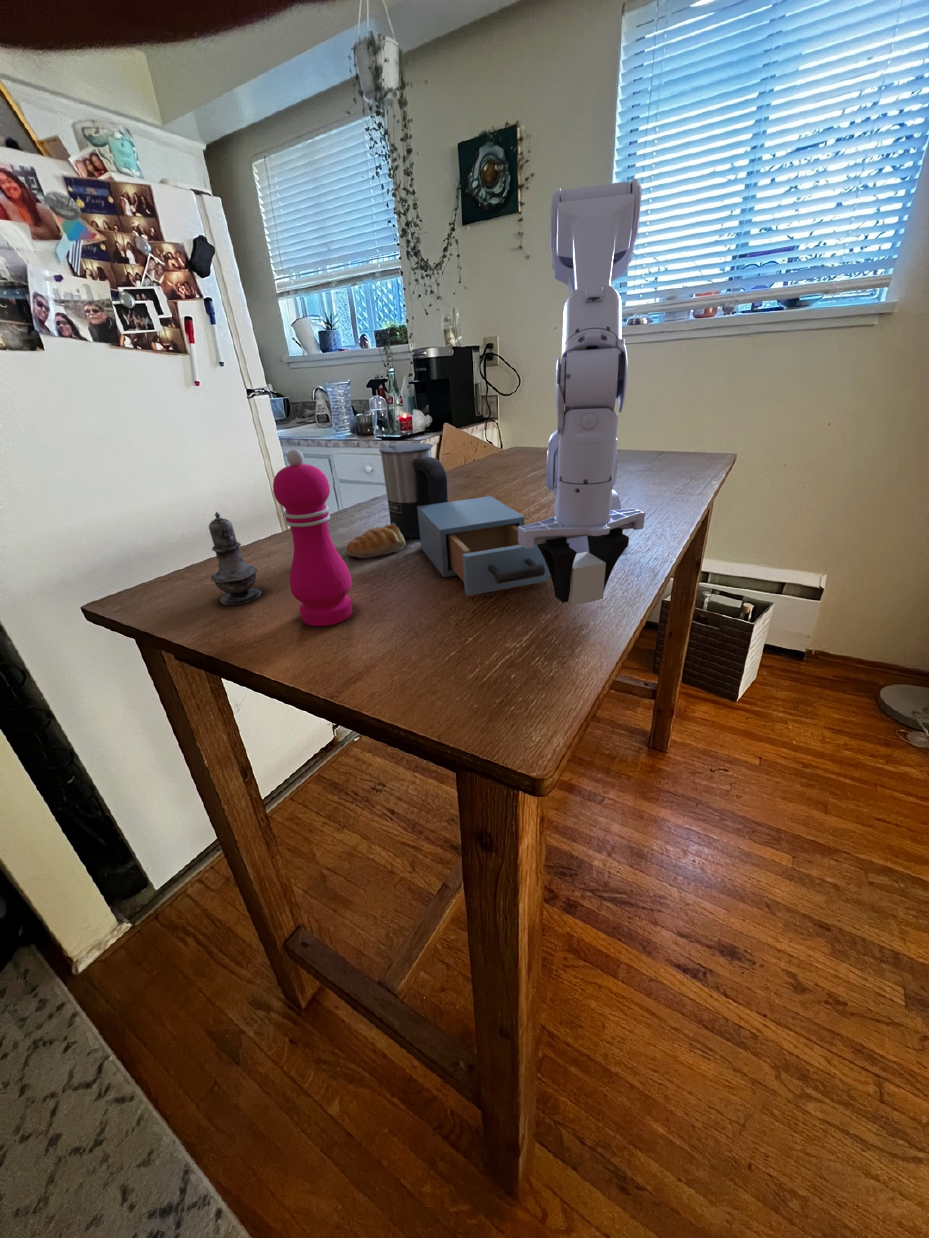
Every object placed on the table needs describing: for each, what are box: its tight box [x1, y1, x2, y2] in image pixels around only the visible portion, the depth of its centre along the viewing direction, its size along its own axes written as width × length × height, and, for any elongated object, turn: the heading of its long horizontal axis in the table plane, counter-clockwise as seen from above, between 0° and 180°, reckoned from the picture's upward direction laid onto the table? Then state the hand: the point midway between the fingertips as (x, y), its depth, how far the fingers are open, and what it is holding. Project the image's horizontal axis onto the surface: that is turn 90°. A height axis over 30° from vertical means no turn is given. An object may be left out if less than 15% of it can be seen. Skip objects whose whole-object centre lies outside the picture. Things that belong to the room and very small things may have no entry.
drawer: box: [445, 524, 550, 597], centre depth 67 cm, size 17×11×5 cm
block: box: [567, 552, 606, 606], centre depth 58 cm, size 4×4×4 cm
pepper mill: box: [272, 449, 354, 627], centre depth 58 cm, size 7×7×20 cm
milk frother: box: [378, 442, 449, 539], centre depth 90 cm, size 14×16×15 cm
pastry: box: [346, 523, 406, 559], centre depth 82 cm, size 9×7×4 cm
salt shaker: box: [208, 511, 262, 606], centre depth 67 cm, size 6×6×12 cm
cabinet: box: [417, 495, 526, 578], centre depth 77 cm, size 14×13×7 cm
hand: (578, 595), depth 59 cm, fingers closed on block, 4 cm apart
